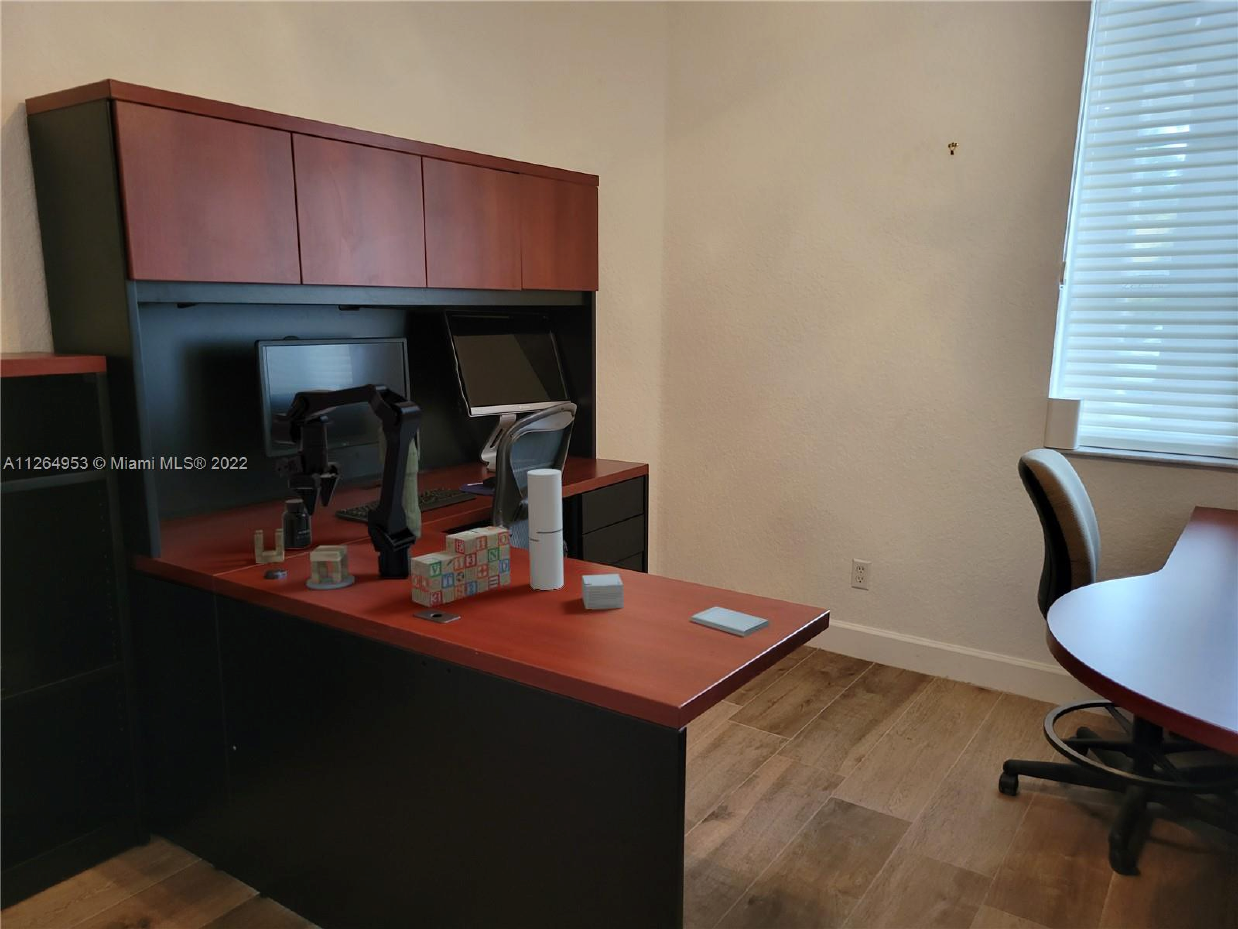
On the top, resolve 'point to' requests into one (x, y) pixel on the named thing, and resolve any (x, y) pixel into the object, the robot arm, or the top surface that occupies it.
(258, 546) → the upturned stool
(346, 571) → the wooden stool
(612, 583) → the stack of note paper
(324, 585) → the pad
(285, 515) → the supplement bottle
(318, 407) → the robot arm
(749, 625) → the hard drive
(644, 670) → the top surface
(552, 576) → the cylindrical container
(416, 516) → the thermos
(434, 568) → the stack of blocks
